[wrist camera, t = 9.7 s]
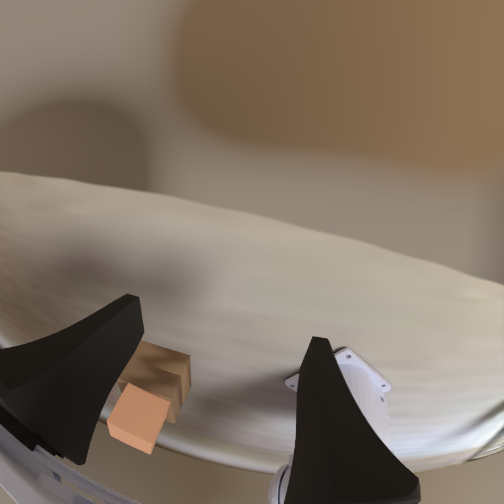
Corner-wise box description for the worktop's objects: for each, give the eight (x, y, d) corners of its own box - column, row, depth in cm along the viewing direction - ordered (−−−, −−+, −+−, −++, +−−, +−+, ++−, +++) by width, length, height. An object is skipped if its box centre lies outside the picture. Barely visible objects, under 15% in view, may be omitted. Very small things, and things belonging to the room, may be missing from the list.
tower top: (181, 375, 25) (171, 398, 23) (182, 403, 28) (174, 423, 26) (128, 357, 26) (116, 377, 23) (136, 386, 29) (126, 405, 26)
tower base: (190, 353, 28) (181, 374, 25) (191, 383, 31) (184, 402, 28) (140, 338, 28) (128, 356, 26) (147, 369, 31) (137, 387, 28)
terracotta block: (170, 402, 23) (152, 443, 19) (165, 418, 25) (150, 454, 21) (128, 382, 23) (106, 421, 19) (128, 400, 25) (110, 435, 21)
